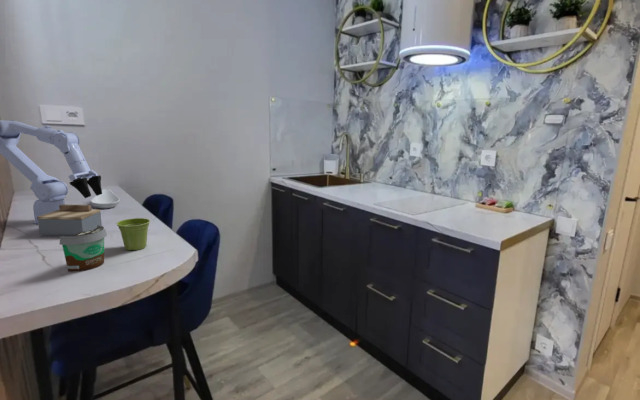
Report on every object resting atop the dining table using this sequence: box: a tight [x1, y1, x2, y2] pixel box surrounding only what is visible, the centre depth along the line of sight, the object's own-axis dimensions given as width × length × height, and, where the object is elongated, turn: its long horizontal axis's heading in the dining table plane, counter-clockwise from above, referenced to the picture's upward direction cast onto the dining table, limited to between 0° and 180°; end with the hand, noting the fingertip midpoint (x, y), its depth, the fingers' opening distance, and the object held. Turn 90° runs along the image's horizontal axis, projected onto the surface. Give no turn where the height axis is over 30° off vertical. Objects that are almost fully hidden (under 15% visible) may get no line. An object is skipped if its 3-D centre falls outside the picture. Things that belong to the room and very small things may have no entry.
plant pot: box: [116, 217, 151, 251], centre depth 107 cm, size 9×9×9 cm
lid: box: [38, 204, 101, 220], centre depth 120 cm, size 14×12×3 cm
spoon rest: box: [90, 188, 121, 210], centre depth 164 cm, size 24×12×7 cm, turn 31°
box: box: [37, 211, 103, 237], centre depth 121 cm, size 14×12×6 cm
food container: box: [59, 225, 108, 272], centre depth 92 cm, size 12×6×10 cm, turn 168°
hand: (94, 195), depth 130 cm, fingers open, 7 cm apart
